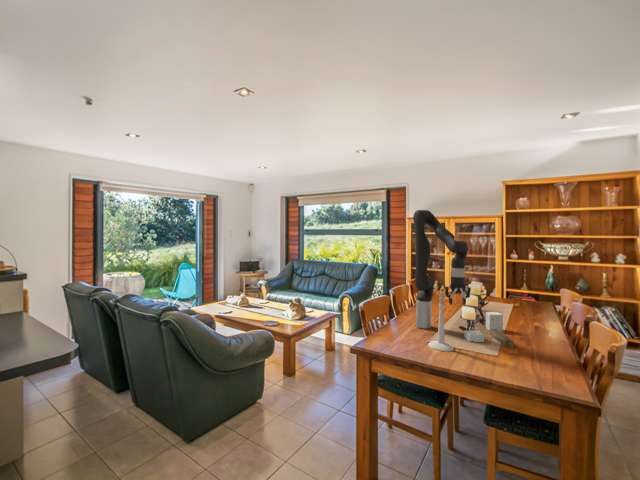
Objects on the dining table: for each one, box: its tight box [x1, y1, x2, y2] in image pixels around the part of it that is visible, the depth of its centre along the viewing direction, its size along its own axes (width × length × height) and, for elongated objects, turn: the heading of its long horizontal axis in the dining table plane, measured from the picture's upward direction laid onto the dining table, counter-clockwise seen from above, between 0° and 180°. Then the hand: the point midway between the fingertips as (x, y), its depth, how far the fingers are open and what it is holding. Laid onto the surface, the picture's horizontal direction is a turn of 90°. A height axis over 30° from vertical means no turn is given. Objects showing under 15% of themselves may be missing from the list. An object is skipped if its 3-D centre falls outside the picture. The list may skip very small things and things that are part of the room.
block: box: [463, 329, 485, 343], centre depth 178 cm, size 8×8×4 cm
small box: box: [485, 311, 504, 332], centre depth 195 cm, size 8×6×10 cm
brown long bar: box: [489, 329, 514, 348], centre depth 176 cm, size 4×20×4 cm, turn 173°
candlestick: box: [427, 291, 455, 353], centre depth 165 cm, size 13×13×30 cm
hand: (457, 304), depth 178 cm, fingers open, 6 cm apart
